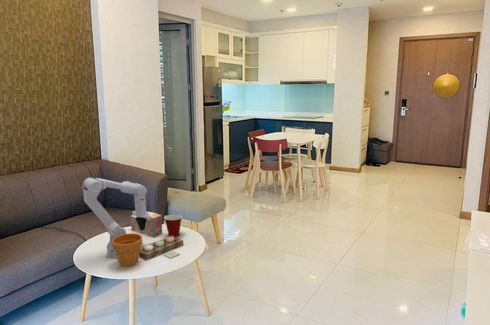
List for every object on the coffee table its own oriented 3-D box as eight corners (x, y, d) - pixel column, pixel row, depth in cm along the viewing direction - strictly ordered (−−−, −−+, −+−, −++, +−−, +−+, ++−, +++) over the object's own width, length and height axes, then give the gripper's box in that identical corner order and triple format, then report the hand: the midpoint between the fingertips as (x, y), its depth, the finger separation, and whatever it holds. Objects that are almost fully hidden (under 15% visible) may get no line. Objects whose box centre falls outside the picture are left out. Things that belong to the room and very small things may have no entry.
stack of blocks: (131, 230, 229) (129, 211, 227) (139, 227, 234) (138, 208, 232) (154, 237, 217) (153, 217, 214) (162, 234, 222) (161, 214, 220)
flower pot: (120, 256, 193) (118, 233, 190) (147, 256, 192) (145, 233, 190) (109, 269, 179) (107, 244, 176) (138, 269, 178) (136, 244, 176)
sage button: (158, 249, 197) (158, 244, 196) (154, 247, 200) (153, 242, 199) (165, 246, 200) (165, 241, 199) (160, 244, 203) (160, 239, 202)
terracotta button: (169, 245, 202) (169, 240, 201) (164, 243, 205) (164, 238, 204) (176, 242, 205) (175, 237, 205) (171, 240, 208) (170, 235, 207)
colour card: (170, 258, 189) (170, 257, 189) (163, 255, 193) (163, 254, 193) (179, 254, 194) (179, 254, 194) (172, 251, 198) (172, 250, 198)
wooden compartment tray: (146, 260, 188) (146, 254, 187) (135, 254, 195) (135, 249, 194) (183, 245, 206) (183, 240, 205) (172, 240, 212) (171, 235, 212)
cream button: (147, 254, 192) (147, 248, 191) (142, 251, 194) (142, 246, 194) (154, 251, 195) (154, 246, 194) (149, 248, 198) (149, 243, 197)
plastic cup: (185, 232, 224) (184, 213, 222) (181, 239, 214) (180, 219, 211) (167, 232, 225) (166, 213, 223) (162, 239, 214) (161, 219, 212)
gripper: (154, 206, 199) (156, 230, 202) (139, 201, 209) (140, 224, 211) (143, 210, 194) (145, 234, 197) (128, 204, 204) (130, 228, 206)
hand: (142, 229), depth 204 cm, fingers closed
